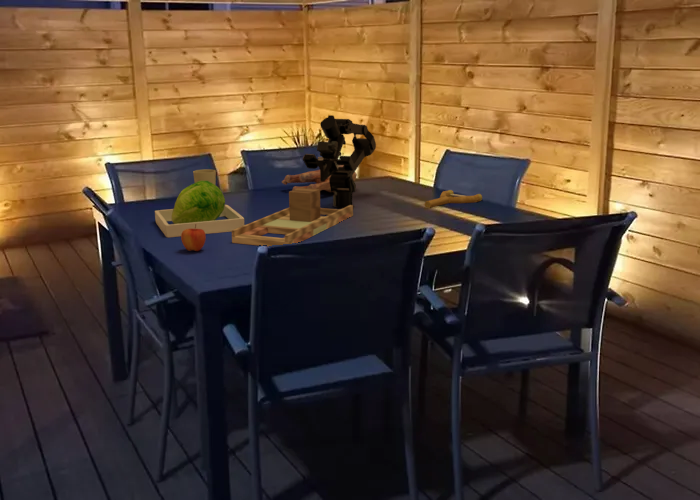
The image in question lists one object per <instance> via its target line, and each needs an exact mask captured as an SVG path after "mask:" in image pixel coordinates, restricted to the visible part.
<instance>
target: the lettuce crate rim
mask: <svg viewBox="0 0 700 500" xmlns="http://www.w3.org/2000/svg"><path fill="white" fill-rule="evenodd" d="M173 209H174V208H170V209H160V210H159V209H158V210H154V218H155V223H156V225H157V226H158V228H159V229H160V230H161V232H162V233H163V234H164V236H165V237H166V238H175V237H181V234H182V232H183V231H184V230H186V229H202V230H204V232H205V235H207V234H218V233H227V232H228V233H229V232H232V230H234V229H237V228H239V227H242V226H244V225H245V218H244V217H243V216H242V215H241V214H240V213H239V212H238V211H236V210H235V209H233V208H232V207H231V206H230V205H228V204H225V205H224V210H223V212H222V213H221V215H220V216H219V217H218V218H221V217H226V218H227V219H226V218H225V219H216V220H215V221H204V222H192V223H181V224H174V223H171V224H169V223H168V222H172V212H173ZM195 224H196V228H195Z"/></svg>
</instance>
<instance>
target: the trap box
mask: <svg viewBox="0 0 700 500" xmlns="http://www.w3.org/2000/svg"><path fill="white" fill-rule="evenodd" d="M353 206H354V205H353V204H352V205H349V206H347V207H345V208H326V207H325V208H324V207H320V218H318V219H316V220H314V221H312V222H304V221H293V220H290V213H289V207H286V208H284V209H282V210H278V211H276V212H274V213H272V214H269V215H267V216H264V217H262V218H259V219H257V220H255V221H252V222H250V223H247V224H244V226H242V227H239V228H237V229H234V230H232V231H231V243H232V244H241V245H249V246H251V245H252V246H259V245H261V247H264V246H263V245H267V246H266V247H269V246H272V245H283V244H292V243H298V242H300V243H301V241H302V242H303V241H305V240H308V239H309V238H311V237H313V236H315V235H317V234H319V233H321V232H323V231H325V230H327V229H329V228H332V227H334V226H336V225H338V224H339V222H340V223H342V222H343V220H344V221H345V220H348V219H349V217H350V218H351V217H353V216H354V207H353ZM325 215H326V216H325ZM347 218H348V219H347ZM341 221H342V222H341ZM266 234H275V235H277V234H278V235H284V236H283V237H275V236H274V237H273V236H264V235H266ZM298 244H299V243H298Z"/></svg>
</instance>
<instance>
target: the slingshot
mask: <svg viewBox="0 0 700 500" xmlns="http://www.w3.org/2000/svg"><path fill="white" fill-rule="evenodd" d="M482 200H483V195H482V194H481V193H477V194H474V195H463V194H456V193H454V191H453V190H452V189H449V190H445V191H444V190H443V191H442V192H441V194H440V195H439V198H434V199H430V200H426V201H425V202H424V207H425V208H429V209H431V208H435V207H438V206H439V207H440V206H442V205H447V204H469V203H470V204H471V203H478V202H481V201H482Z"/></svg>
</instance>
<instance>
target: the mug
mask: <svg viewBox="0 0 700 500" xmlns="http://www.w3.org/2000/svg"><path fill="white" fill-rule="evenodd" d="M192 173H193V180H194V181H193V182H194V183H196V182H198V181H209V182H211V183H212V184H214V185H216V181H217V179H216V177H217V176H216V175H217V174H216V169H209V168H208V169H196V170H193V171H192Z"/></svg>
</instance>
